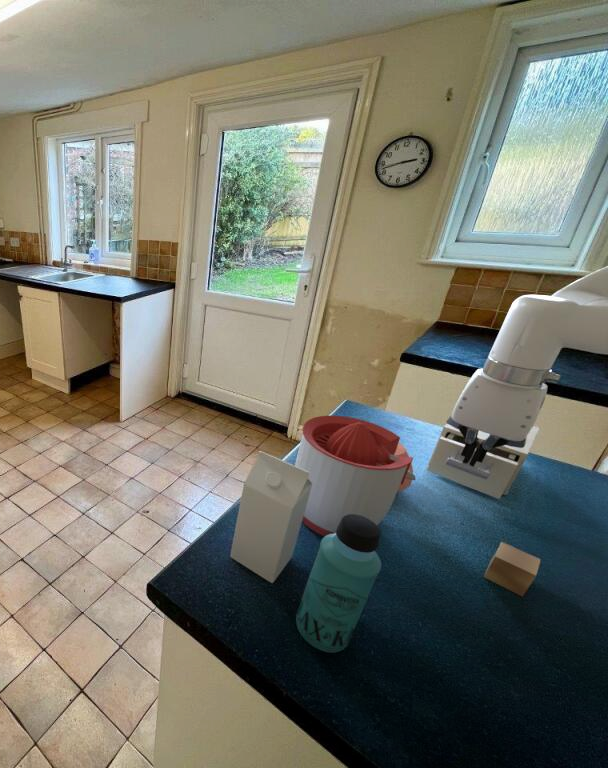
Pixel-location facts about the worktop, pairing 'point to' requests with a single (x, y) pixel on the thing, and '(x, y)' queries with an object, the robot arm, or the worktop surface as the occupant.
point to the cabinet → (520, 452)
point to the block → (512, 569)
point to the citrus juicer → (349, 470)
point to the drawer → (482, 476)
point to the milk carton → (270, 515)
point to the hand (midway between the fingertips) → (469, 461)
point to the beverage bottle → (339, 584)
